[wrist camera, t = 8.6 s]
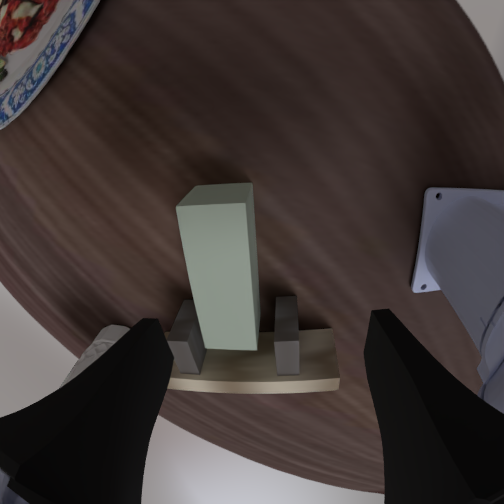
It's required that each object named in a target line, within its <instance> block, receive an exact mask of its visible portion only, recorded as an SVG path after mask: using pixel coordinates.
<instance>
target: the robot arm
mask: <svg viewBox="0 0 504 504" xmlns="http://www.w3.org/2000/svg"><path fill="white" fill-rule="evenodd" d="M437 193H439V194H440V195H439V197H438V198H436V194H437ZM423 284H424V286H423V287H421V286H422V285H423ZM411 289H412V290H413V292H415V293H419V292H427V291H435V290H442V292H443V293H444V295H445V296H446V298H447V299H448V301H449V302H450V304H451V306H452V307H453V309H454V310H455V312H456V313H457V315H458V317H459V318H460V320H461V321H462V323H463V325H464V326H465V328H466V330H467V331H468V333H469V335H470V337H471V338H472V340H473V342H474V344H475V345H476V347H477V349H478V351H479V353H480V354H481V356H482V359H481V362H480V364H479V366H478V367H477V370H478V373H479V375H480V377H481V379H482V381H483V384H482V386H481V388H480V389H479V391H478V394H477V395H476V394H474V393H473V392H472V391H471V390H470V389H468V388H467V387H466V386H465V385H463V384H462V383H461V382H460V381H459V380H457V379H456V378H455V377H454V376H453V375H452V374H451V373H450V372H449V371H448V370H447V369H445V368H444V367H443V366H442V365H441V364H440V363H439V362H438V361H437V360H436V359H435V358H434V357H433V356H432V355H431V354H430V353H429V352H428V350H427V349H426V348H425V347H424V346H423V345H422V344H421V343H420V342H419V341H418V340H417V339H416V338H415V337H414V336H413V334H412V333H411V332H410V331H409V330H408V329H407V328H406V327H405V326H404V325H403V323H402V322H401V321H400V320H399V319H398V318H397V317H396V316H395V315H394V314H393V313H392V311H391V310H390V309H381V310H372V311H371V317H370V322H369V328H368V333H367V338H366V343H365V348H364V359H365V366H366V373H367V379H368V383H369V387H370V391H371V395H372V399H373V403H374V407H375V411H376V415H377V419H378V424H379V428H380V433H381V438H382V446H383V457H384V477H385V501H384V503H385V504H504V190H490V189H470V188H435V187H431V188H428V189H427V190H426V191H425V194H424V205H423V214H422V223H421V231H420V238H419V245H418V251H417V257H416V263H415V268H414V274H413V279H412V284H411ZM173 362H174V356H173V353H172V351H171V349H170V347H169V344H168V342H167V340H166V337H165V335H164V333H163V330H162V328H161V325H160V323H159V320H158V319H151V318H143V319H142V320H140V321H139V322H138V323H137V324H136V325H134V326H133V327H132V328H131V329H130V330H129V331H128V332H127V333H125V334H124V335H123V336H122V337H121V338H120V339H119V340H118V341H117V342H116V343H114V344H113V345H112V346H111V347H110V348H109V349H108V350H107V351H106V352H105V353H103V354H102V355H101V356H100V357H99V358H98V359H97V360H95V361H94V362H93V363H92V364H91V365H89V366H88V367H87V368H86V369H85V370H83V371H82V372H81V373H80V374H79V375H77V376H76V377H75V378H73V379H72V380H71V381H69V382H68V383H66V384H65V385H64V386H62V387H61V388H59V389H58V390H56V391H55V392H53V393H51V394H50V395H48V396H46V397H44V398H43V399H41V400H40V401H38V402H36V403H34V404H32V405H30V406H28V407H26V408H24V409H21V410H19V411H17V412H15V413H12V414H10V415H7V416H4V417H1V418H0V504H141V495H142V484H143V475H144V468H145V461H146V456H147V451H148V446H149V441H150V437H151V434H152V430H153V427H154V424H155V422H156V419H157V416H158V413H159V410H160V407H161V404H162V402H163V399H164V396H165V393H166V390H167V387H168V384H169V381H170V377H171V372H172V367H173Z"/></svg>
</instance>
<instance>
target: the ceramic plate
mask: <svg viewBox="0 0 504 504" xmlns="http://www.w3.org/2000/svg"><path fill="white" fill-rule="evenodd" d="M99 2H100V0H0V130H1V129H2V128H4V127H6V126H7V125H8V124H10V123H11V122H12V121H13V120H14V119H15V118H17V117H18V116H19V115H20V114H21V113H22V112H23V111H24V110H25V109H26V108H27V107H28V106H29V105H30V103H31V102H32V101H33V100H34V99H35V98H36V96H37V95H38V94H39V93H40V91H41V90H42V89H43V87H44V86H45V85H46V84H47V82H48V81H49V79H50V78H51V77H52V75H53V74H54V72H55V71H56V70H57V68H58V67H59V66H60V64H61V63H62V62H63V60H64V58H65V57H66V55H67V54H68V52H69V50H70V49H71V47H72V46H73V44H74V43H75V41H76V40H77V38H78V37H79V35H80V34H81V32H82V30H83V29H84V27H85V25H86V24H87V22H88V21H89V19H90V17H91V15H92V14H93V12H94V10H95V9H96V7H97V5H98V4H99Z"/></svg>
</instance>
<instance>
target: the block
mask: <svg viewBox="0 0 504 504" xmlns="http://www.w3.org/2000/svg"><path fill="white" fill-rule="evenodd" d="M176 211H177V217H178V223H179V229H180V234H181V240H182V245H183V250H184V255H185V260H186V265H187V270H188V275H189V280H190V285H191V289H192V294H193V298H194V303H195V307H196V311H197V316H198V320H199V324H200V328H201V332H202V337H203V341H204V344H205V348H208V349H227V350H257V345H258V336H259V326H260V316H261V311H260V295H259V278H258V262H257V246H256V231H255V215H254V200H253V184H252V183H232V184H214V185H199V186H195V187H194V188H193V189H192V190H191V191H190V192H189V193H188V194H187V195H186V196H185V197H184V198H183V199H182V200H181V202H180V203H179V204H178V205H177V206H176Z"/></svg>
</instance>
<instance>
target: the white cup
mask: <svg viewBox="0 0 504 504" xmlns="http://www.w3.org/2000/svg"><path fill="white" fill-rule="evenodd" d="M129 330H130V328H128V327H126V326H120V325H109V326H107V327H105V328H103V329H102V330H101V331H100V333H99V334H98V335H97V337H96V338H95V340H94V341H93V343H92V344H91V345H90V346H89V347H88V348H87V349H86V350H85V352H84V353H83V355H82V356H81V358H80V359H79V360H78V361H77V362H76V364H75V365H74V367H73V368H72V370H71V371H70V373H69V374H68V376H67V377H66V379H65V380H64V382H63V383H62V385H61V386H60V388H61V387H62V386H64V385H65V384H66V383H68V382H69V381H71V380H72V379H73V378H75V377H76V376H77V375H79V374H80V373H81V372H82V371H83V370H85V369H86V368H87V367H88V366H89V365H91V364H92V363H93V362H94V361H95V360H97V359H98V358H99V357H100V356H101V355H102V354H103V353H105V352H106V351H107V350H108V349H109V348H110V347H111V346H112V345H113V344H114V343H116V342H117V341H118V340H119V339H120V338H121V337H122V336H123V335H124V334H125V333H127V332H128V331H129Z"/></svg>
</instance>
